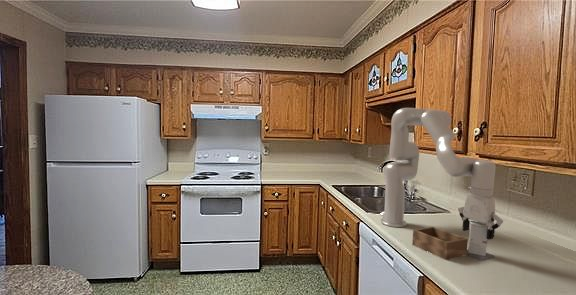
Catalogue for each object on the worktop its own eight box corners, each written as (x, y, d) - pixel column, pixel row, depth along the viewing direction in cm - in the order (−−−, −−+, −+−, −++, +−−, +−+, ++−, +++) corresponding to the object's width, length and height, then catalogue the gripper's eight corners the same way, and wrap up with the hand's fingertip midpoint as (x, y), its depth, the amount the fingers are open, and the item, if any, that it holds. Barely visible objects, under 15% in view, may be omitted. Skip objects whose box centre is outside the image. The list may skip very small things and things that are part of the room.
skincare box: (468, 253, 123) (470, 223, 122) (468, 249, 127) (470, 220, 126) (486, 256, 120) (488, 225, 119) (485, 252, 124) (487, 222, 123)
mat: (461, 252, 125) (461, 250, 125) (474, 249, 129) (474, 247, 129) (481, 260, 118) (481, 258, 118) (494, 256, 122) (494, 255, 122)
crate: (412, 245, 132) (413, 230, 132) (432, 241, 137) (432, 226, 137) (446, 259, 118) (447, 243, 117) (466, 254, 123) (467, 238, 123)
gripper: (454, 188, 128) (451, 228, 130) (498, 198, 113) (493, 244, 114) (466, 186, 131) (463, 226, 133) (510, 196, 116) (506, 241, 118)
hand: (477, 234), depth 124 cm, fingers open, 9 cm apart
